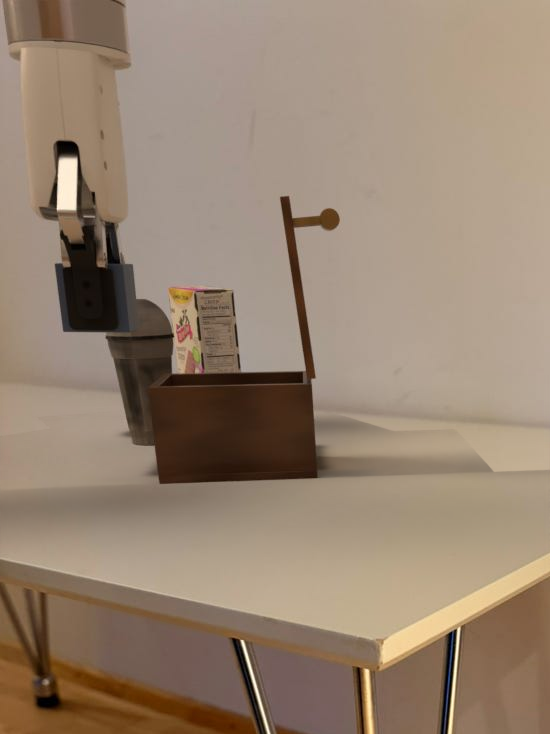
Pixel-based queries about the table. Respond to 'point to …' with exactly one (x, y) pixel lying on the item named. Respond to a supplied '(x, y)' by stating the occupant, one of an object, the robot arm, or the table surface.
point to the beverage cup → (142, 365)
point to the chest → (233, 426)
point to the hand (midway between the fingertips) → (101, 324)
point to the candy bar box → (204, 329)
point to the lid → (327, 222)
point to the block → (123, 299)
